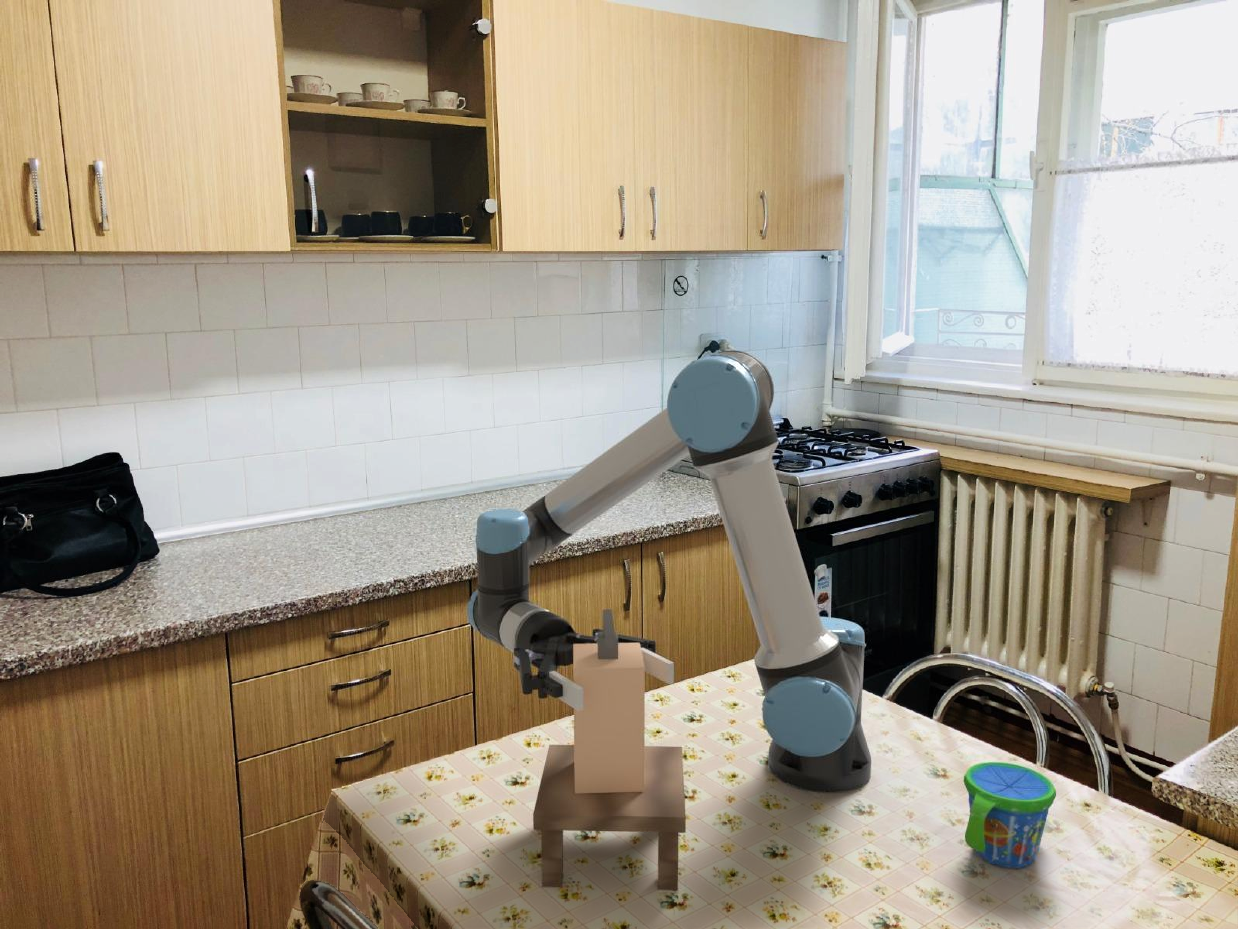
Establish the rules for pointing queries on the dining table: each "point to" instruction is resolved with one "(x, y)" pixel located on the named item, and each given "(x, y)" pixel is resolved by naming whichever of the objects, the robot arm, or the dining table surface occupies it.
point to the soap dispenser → (609, 714)
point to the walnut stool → (612, 810)
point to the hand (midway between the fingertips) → (627, 686)
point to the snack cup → (1007, 812)
